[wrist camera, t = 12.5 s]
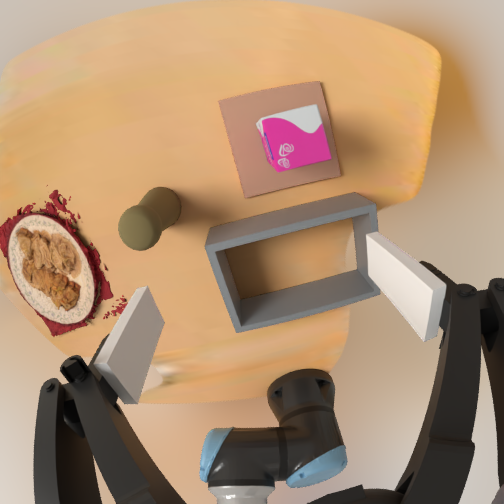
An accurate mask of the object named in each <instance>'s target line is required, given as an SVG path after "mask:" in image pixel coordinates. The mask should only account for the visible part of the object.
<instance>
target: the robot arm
mask: <svg viewBox="0 0 504 504" xmlns="http://www.w3.org/2000/svg"><path fill="white" fill-rule="evenodd" d="M366 240H367V256H368V276H369V277H370V278H371V279H372V280H373V281H374V282H375V284H376V285H377V286H378V287H379V288H380V289H381V290H382V292H383V293H384V294H385V295H386V296H387V297H388V298H389V299H390V301H391V302H392V303H393V304H394V306H395V307H396V308H397V309H398V310H399V311H400V313H401V314H402V315H403V316H404V318H405V319H406V320H407V321H408V323H409V324H410V325H411V326H412V328H413V329H414V330H415V331H416V333H417V334H418V335H419V336H420V338H421V339H422V340H423V341H424V342H425V341H427V340H430V339H432V338H434V337H436V336H437V333H438V328H439V326H440V327H441V328H442V329H443V331H444V332H443V336H442V340H441V344H440V347H439V349H441V350H440V355H439V361H438V366H437V372H436V376H435V381H434V385H433V389H432V394H431V397H430V401H429V405H428V409H427V412H426V415H425V419H424V422H423V426H422V428H421V432H420V435H419V437H418V440H417V443H416V446H415V448H414V451H413V454H412V456H411V458H410V461H409V463H408V466H407V468H406V470H405V472H404V473H403V475H402V477H401V479H400V481H399V483H398V485H397V487H396V489H395V491H392V490H387V489H363V486H362V485H359V486H356V487H352V488H349V489H346V490H343V491H339V492H335V493H331V494H327V495H325V496H323V497H321V498H319V499H317V500H314V501H312V502H310V503H307V504H458V503H459V501H460V498H461V495H462V493H463V490H464V487H465V484H466V481H467V478H468V474H469V471H470V467H471V463H472V460H473V456H474V450H475V444H474V443H473V442H472V440H471V438H472V432H473V427H474V421H475V416H476V409H477V401H478V393H479V383H480V367H481V346H482V350H483V354H484V358H485V362H486V366H487V370H488V375H489V380H490V386H491V391H492V397H493V404H494V411H495V420H496V431H497V450H498V476H499V486H500V489H499V490H498V492H497V494H496V496H495V499H494V500H493V501H492V504H504V279H502V278H494V279H492V280H490V283H489V286H488V289H486V290H480V291H477V289H476V288H475V287H473V286H471V285H469V284H458V285H457V284H456V283H454V282H453V281H452V280H451V279H450V278H448V277H447V276H446V275H445V274H443V273H442V272H441V271H439V270H437V268H436V267H434V266H433V265H432V264H430V263H427V262H424V261H421V262H418V261H416V260H415V259H414V258H413V257H411V256H410V255H409V254H407V253H406V252H405V251H403V250H402V249H401V248H399V247H398V246H397V245H395V244H394V243H393V242H391V241H390V240H388V239H387V238H386V237H384V236H383V235H382V234H380V233H379V232H373V233H369V234H366ZM164 323H165V322H164V320H163V318H162V316H161V314H160V312H159V310H158V307H157V305H156V303H155V301H154V299H153V297H152V294H151V292H150V290H149V288H148V286H145V287H140V288H137V289H136V291H135V292H134V294H133V296H132V297H131V299H130V301H129V302H128V304H127V306H126V307H125V309H124V311H123V312H122V314H121V316H120V317H119V319H118V321H117V322H116V324H115V326H114V328H113V329H112V331H111V333H110V334H108V335H107V336H106V337H105V338H104V339H103V340H102V342H101V344H100V345H99V348H98V349H97V351H96V353H95V354H94V356H93V358H92V360H91V362H90V364H89V365H88V366H87V365H86V363H85V362H84V360H83V359H82V358H81V356H79V355H74V356H71V357H69V358H68V359H67V360H65V361H64V362H63V364H62V365H61V367H60V371H61V373H62V374H63V375H64V376H65V378H66V379H67V381H68V382H69V383H67V384H63V385H62V384H61V383H60V382H59V380H58V379H57V378H52V379H49V380H47V381H46V382H45V383H44V384H43V386H42V387H41V390H40V396H39V403H38V410H37V419H36V428H35V440H34V495H35V504H102V501H101V497H100V493H99V488H98V483H97V478H96V472H95V466H94V459H93V456H94V458H95V461H96V463H97V465H98V467H99V469H100V472H101V473H102V476H103V478H104V480H105V482H106V484H107V486H108V488H109V490H110V492H111V494H112V496H113V498H114V499H115V502H116V504H186V503H185V501H184V500H183V499H182V498H181V497H180V496H179V494H178V493H177V492H176V491H175V489H174V488H173V487H172V486H171V485H170V483H169V482H168V481H167V479H166V478H165V477H164V475H163V474H162V473H161V471H160V470H159V469H158V467H157V466H156V465H155V463H154V462H153V460H152V459H151V457H150V456H149V454H148V453H147V451H146V450H145V448H144V447H143V445H142V444H141V442H140V441H139V439H138V437H137V436H136V434H135V432H134V431H133V429H132V427H131V426H130V424H129V422H128V420H127V419H126V417H125V415H124V413H123V411H122V410H121V408H120V406H119V405H118V404H117V403H116V401H117V399H118V397H119V398H120V399H121V400H122V401H123V403H124V404H138V401H139V398H140V395H141V392H142V388H143V385H144V382H145V379H146V376H147V372H148V369H149V367H150V364H151V360H152V358H153V355H154V352H155V349H156V346H157V343H158V340H159V337H160V334H161V331H162V329H163V326H164ZM334 396H335V386H334V383H333V380H332V378H331V376H330V375H329V374H328V373H326V372H324V371H321V370H316V369H304V370H298V371H294V372H290V373H288V374H285V375H283V376H281V377H280V378H278V379H277V380H275V381H274V382H273V383H272V384H271V385H270V387H269V388H268V391H267V397H268V403H269V406H270V408H271V409H272V411H273V413H274V415H275V416H276V418H277V420H278V422H279V427H268V428H234V427H231V428H215V429H212V430H211V431H210V432H209V433H208V434H207V436H206V438H205V441H204V445H203V449H202V454H201V460H200V479H201V480H202V481H204V482H206V483H207V482H208V490H209V491H210V492H211V493H212V494H213V495H214V496H215V497H216V498H217V504H267V497H268V496H269V495H270V494H271V493H272V492H273V491H274V490H275V481H286V484H287V485H288V486H289V487H291V488H295V487H297V488H300V487H306V486H310V485H314V484H317V483H320V482H323V481H325V480H328V479H330V478H332V477H334V476H335V475H337V474H338V473H340V472H341V471H342V470H343V469H344V468H345V467H346V465H347V456H346V451H345V449H346V447H345V445H344V443H343V439H342V436H341V433H340V430H339V427H338V423H337V420H336V417H335V413H334V410H333V408H334Z"/></svg>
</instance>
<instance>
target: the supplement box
mask: <svg viewBox="0 0 504 504" xmlns="http://www.w3.org/2000/svg"><path fill="white" fill-rule="evenodd" d="M256 126H257V128H258V131H259V134H260V137H261V140H262V144H263V147H264V150H265V153H266V157H267V161H268V162H269V164H270V165H271V166H272V167H273V168H274V169H275V170H276V171H277V172H278V173H279V172H283V171H287V170H291V169H294V168H298V167H303V166H306V165H311V164H315V163H319V162H324V161H328V160H331V159H332V157H331V152H330V148H329V144H328V140H327V136H326V132H325V129H324V125H323V122H322V118H321V115H320V112H319V108H318V105H317V104H314V105H309V106H304V107H300V108H296V109H292V110H288V111H284V112H280V113H277V114H273V115H270V116H266V117H263V118H261V119H260V120H259V121H258V122H257V123H256Z"/></svg>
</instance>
